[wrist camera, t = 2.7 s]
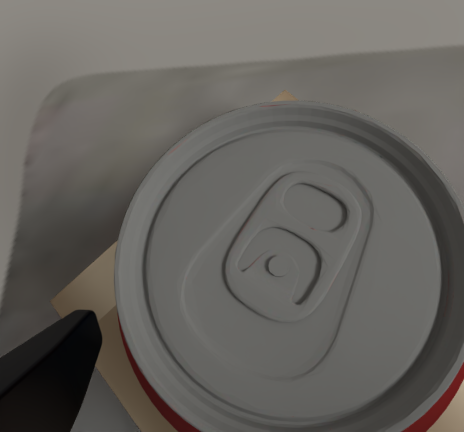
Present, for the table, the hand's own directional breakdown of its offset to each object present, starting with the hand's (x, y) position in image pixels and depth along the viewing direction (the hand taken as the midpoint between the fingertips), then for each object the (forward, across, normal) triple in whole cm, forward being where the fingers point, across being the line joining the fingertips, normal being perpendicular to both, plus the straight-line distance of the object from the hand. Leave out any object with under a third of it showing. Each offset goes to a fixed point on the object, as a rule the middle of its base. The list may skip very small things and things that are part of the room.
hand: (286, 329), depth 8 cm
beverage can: (+7, 0, +6) cm, 9 cm away
